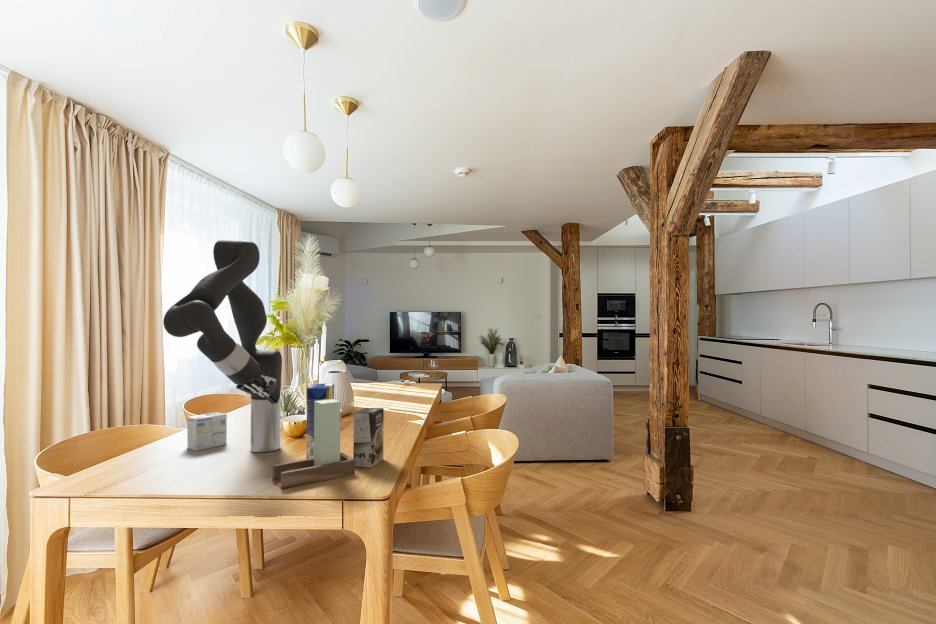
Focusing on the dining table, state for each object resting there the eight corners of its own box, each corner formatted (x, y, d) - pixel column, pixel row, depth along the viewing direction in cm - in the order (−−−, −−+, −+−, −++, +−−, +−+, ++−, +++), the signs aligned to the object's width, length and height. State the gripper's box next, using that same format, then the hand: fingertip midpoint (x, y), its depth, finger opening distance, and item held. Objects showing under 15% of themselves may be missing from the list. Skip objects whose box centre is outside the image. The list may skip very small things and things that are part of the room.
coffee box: (372, 468, 144) (373, 413, 144) (352, 466, 145) (352, 412, 145) (384, 459, 153) (384, 407, 153) (365, 458, 154) (365, 406, 154)
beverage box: (333, 448, 165) (333, 383, 165) (329, 457, 154) (329, 388, 154) (312, 449, 164) (313, 383, 164) (306, 458, 153) (306, 388, 153)
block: (313, 471, 138) (314, 401, 139) (332, 468, 142) (332, 399, 142) (320, 476, 134) (321, 403, 134) (340, 472, 137) (340, 401, 137)
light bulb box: (217, 441, 174) (217, 411, 174) (227, 444, 170) (227, 413, 170) (186, 448, 165) (186, 416, 166) (195, 451, 161) (196, 418, 162)
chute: (272, 479, 133) (272, 465, 133) (341, 466, 145) (341, 452, 145) (282, 489, 126) (282, 473, 126) (354, 474, 138) (354, 460, 138)
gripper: (262, 348, 124) (300, 387, 135) (222, 353, 128) (263, 391, 139) (248, 372, 118) (290, 411, 130) (208, 376, 123) (251, 414, 134)
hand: (276, 401), depth 135 cm, fingers closed
